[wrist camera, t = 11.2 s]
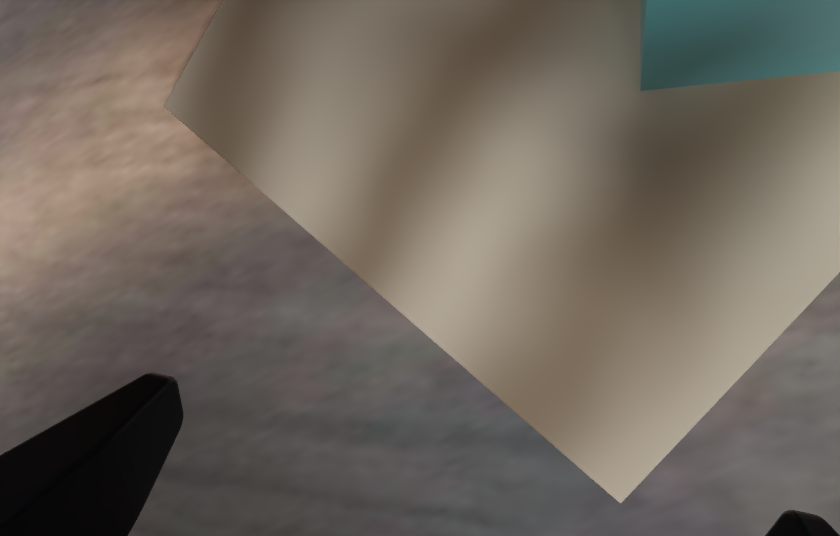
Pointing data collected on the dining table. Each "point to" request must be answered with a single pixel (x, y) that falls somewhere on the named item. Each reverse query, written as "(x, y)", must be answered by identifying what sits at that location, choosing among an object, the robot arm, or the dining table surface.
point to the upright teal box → (735, 40)
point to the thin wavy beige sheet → (537, 197)
